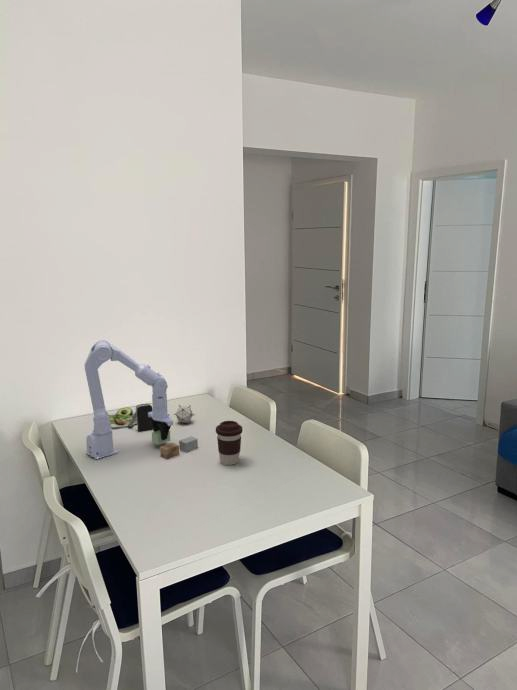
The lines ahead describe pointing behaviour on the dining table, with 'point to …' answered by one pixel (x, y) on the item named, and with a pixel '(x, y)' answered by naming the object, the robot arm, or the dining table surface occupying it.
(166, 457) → the walnut brick
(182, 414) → the grey wireframe spiky ball
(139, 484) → the dining table surface
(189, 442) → the grey brick
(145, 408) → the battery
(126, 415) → the salad plate
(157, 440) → the green brick
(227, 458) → the coffee cup
